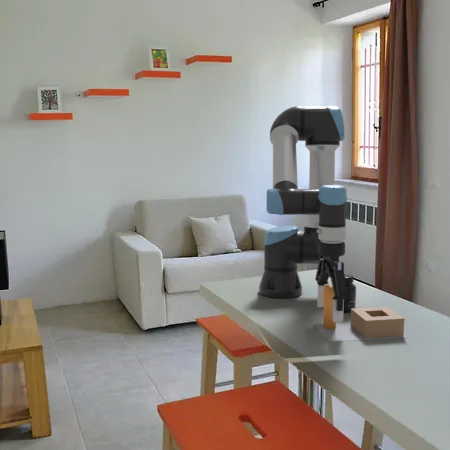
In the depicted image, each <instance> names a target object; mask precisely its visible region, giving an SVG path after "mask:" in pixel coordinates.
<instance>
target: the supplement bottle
mask: <svg viewBox="0 0 450 450" xmlns="http://www.w3.org/2000/svg"><path fill="white" fill-rule="evenodd" d="M344 275H345V282H346V290H347V299H344V311H343V314H351V309H353V308H356V307H357V306H356V303H357V286H356V285H355V284H354V275H353V274H347V273H344Z"/></svg>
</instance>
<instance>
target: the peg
mask: <svg viewBox="0 0 450 450" xmlns="http://www.w3.org/2000/svg"><path fill="white" fill-rule="evenodd" d="M333 297H334V291H333V286H332V284H325V286H324V307H323V312H322V313H323V319H322V322H323V327H324V328H325V329H335V328H336V323H337V322H333V299H332V298H333Z"/></svg>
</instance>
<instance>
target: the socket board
mask: <svg viewBox="0 0 450 450" xmlns="http://www.w3.org/2000/svg"><path fill="white" fill-rule="evenodd" d="M312 326H314V327H315V329H316V330H317V331H318V332H319V333H320V334H321V335H322V336H323V337H324V338H325V339H326V340H327V342H328V343H338V342H354V341H355V342H356V341H372V340H373V341H374V340H389V339H403V338H407V336H406V335H405V333H404V332H405V318H404V317H403V316H401V315H400V314H398V313H397V312H396V311H394V310H393V309H392V308H390V307H388V306H375V307H374V306H373V307H357V308H356V307H355V308H353V309H351V313H350V321H343V322H336V328H335V329H325V328H324V327H323V323H312Z"/></svg>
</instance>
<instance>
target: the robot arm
mask: <svg viewBox="0 0 450 450" xmlns="http://www.w3.org/2000/svg"><path fill="white" fill-rule="evenodd" d="M345 136H346V135H345V121H344V116H343V112H342V110H341V108H340V107H338V106H333V105H315V106H314V105H313V106H310V105H307V106H300V105H297V106H291V107H289V108H287V109H285V110H283V111H282V112H281V113H279V115H277V117H276V118H275V119H274V121H273V123H272V124H271V127H270V130H269V141H270V143H271V144H272V188H269V189H267V191H266V212H267V214H269V215H278V216H279V215H280V216H283V215H284V216H285V215H288V216H289V215H291V216H292V215H308V220H307V222H306V223H305V224H303V226H304V227H303V229H304V230H299V227H298V226H297V225H282V226H275V227H272V228H269V229H268V230H266V231H265V233H264V240H263V241H264V242H263V245H264V249H263V251H264V253H263V256H264V258H263V259H264V261H263V263H264V265H263V266H264V267H263V273H262V276H261V280H260V283H259V285H258V293H259V294H260V295H261V296H264V297H268V298H274V299H289V298H296V297H299V296H300V295H302V294H303V285H302V282H301V279H300V276H299V272H298V265H317V268H316V275H315V279H314V281H316V282H317V283H316V284H317V308H324V286H325V285H329V278H330V281H331V285H332V286H333V291H334V297H333V298H332V299H333V322H336V323H338V322H344V313H343V311H344V299H347V290H346V282H345V275H344V274H345V264H344V262H342V261H341V262H340V258H341V257H343V256H344V255H345V254H346V242H345V240H346V238H347V236H346V235H347V232H346V231H347V226H346V225H347V224H346V222H347V221H346V220H347V219H346V218H347V201H348V195H347V187H345V186H344V185H339V184H335V179H336V177H335V175H336V173H335V169H336V168H335V167H336V151H337V150H338V148H339V147H340V144H341V143H340V142H342V141H345ZM299 141H300V142H305V145H304V147H305V148H306V149H307V150H308V151H309V170H308V171H309V175H308V178H309V181H308V185H309V186H308V188H309V189H308V188H307V189H306V188H305V189H304V188H299V185H298V183H299V182H298V164H297V163H298V162H297V143H298V142H299Z"/></svg>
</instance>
